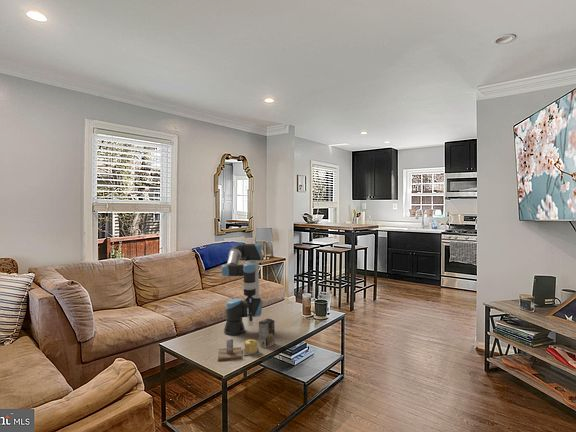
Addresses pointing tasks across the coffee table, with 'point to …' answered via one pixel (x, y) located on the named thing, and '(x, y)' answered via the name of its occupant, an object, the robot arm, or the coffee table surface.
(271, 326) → the coffee box
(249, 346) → the yellow lidded jar
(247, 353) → the mat
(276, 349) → the coffee table surface
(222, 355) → the post base
